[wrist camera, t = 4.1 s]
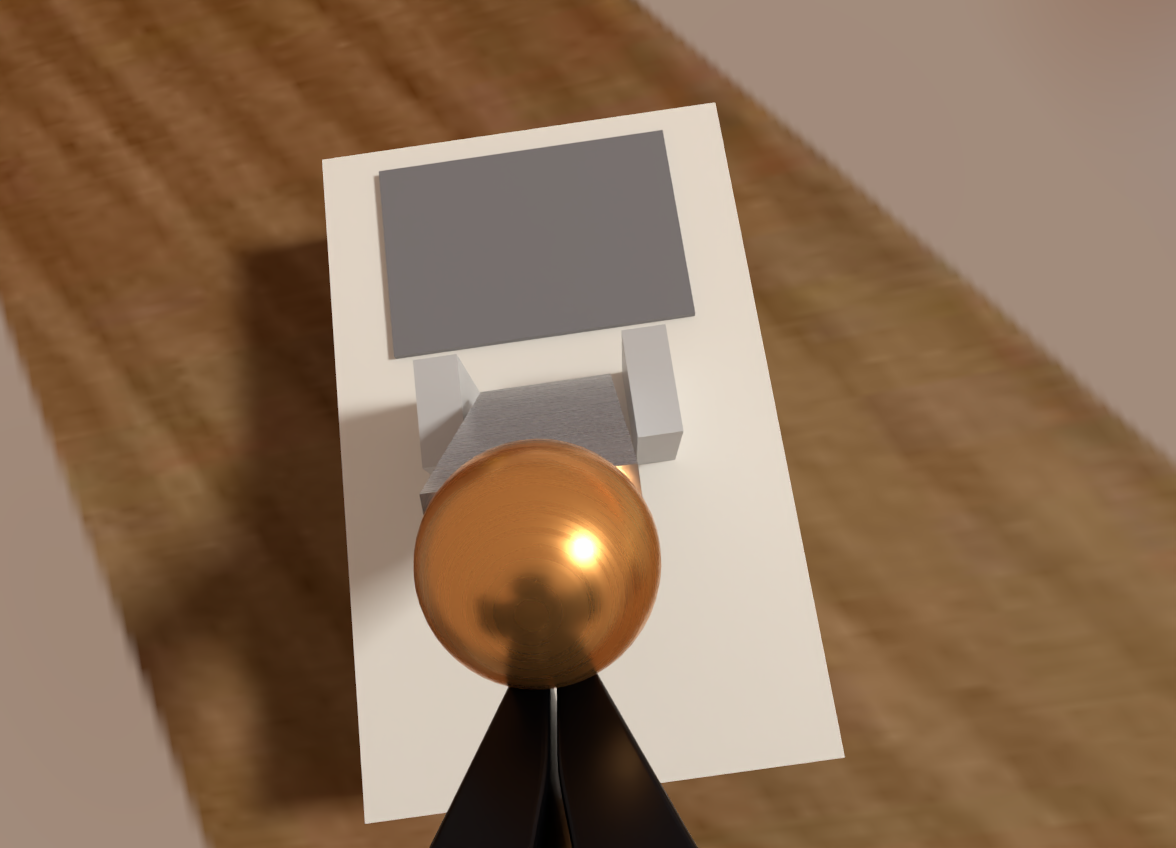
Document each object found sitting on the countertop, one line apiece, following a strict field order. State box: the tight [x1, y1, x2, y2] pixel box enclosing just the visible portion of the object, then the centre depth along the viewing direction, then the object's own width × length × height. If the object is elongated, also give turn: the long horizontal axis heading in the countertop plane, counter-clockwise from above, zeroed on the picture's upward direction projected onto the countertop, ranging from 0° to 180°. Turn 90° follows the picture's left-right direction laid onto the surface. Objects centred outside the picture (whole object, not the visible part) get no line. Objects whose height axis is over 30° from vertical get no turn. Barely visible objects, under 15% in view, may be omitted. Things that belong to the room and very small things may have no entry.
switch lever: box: [413, 374, 661, 690], centre depth 12 cm, size 3×3×10 cm
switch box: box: [322, 103, 845, 824], centre depth 18 cm, size 14×9×6 cm, turn 8°
